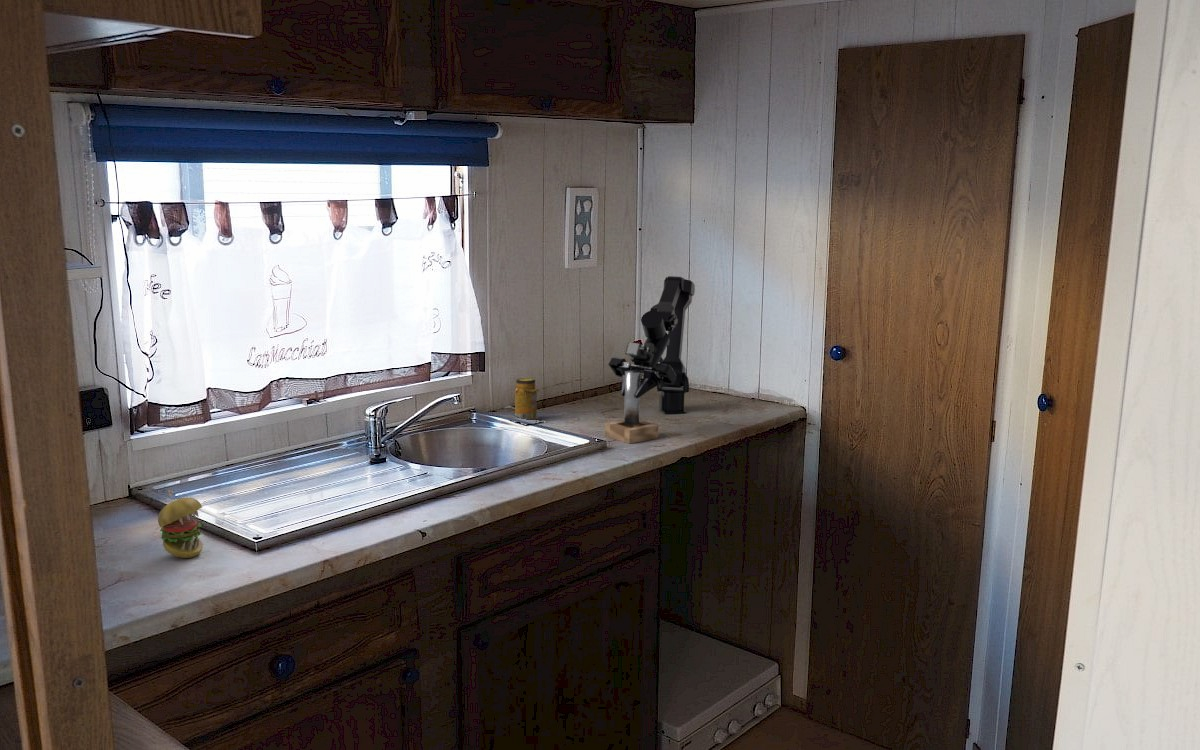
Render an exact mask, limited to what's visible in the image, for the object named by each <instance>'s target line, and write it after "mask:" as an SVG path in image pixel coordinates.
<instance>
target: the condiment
mask: <svg viewBox="0 0 1200 750" xmlns="http://www.w3.org/2000/svg"><path fill="white" fill-rule="evenodd" d="M515 382H516V384H515V386H516V388H515V390H514V418H515V417H517V418H521V419H526V420H536V419H537V406H538V405H537V404H538V403H537V402H538V401H537V400H538V399H537V397H538V395H537V393H538V392H537V388H536V379H535V378H531V377H520V378H519V377H518V378H517V379H516V381H515ZM543 421H544V423H546V421H545V420H543Z"/></svg>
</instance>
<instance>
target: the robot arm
mask: <svg viewBox="0 0 1200 750" xmlns="http://www.w3.org/2000/svg"><path fill="white" fill-rule="evenodd" d="M695 287H696V286H695V283H694V282H693V281H692V280H690V279H686V278H684V277H682V276H676V275H675V276H673V275H668V276H665V278H664V280H663V290H662V293H661V295H660V299H659V301H658V303H656V304H655V305H653V306H652V307H650V310H649V311H647V312H645V313H644V314H642V316H641V318H640V321H641V326H642V329H643V332H644V336H645V338H646V339H645V341H644V343H643V344H642V343H639V342H638V343H637V342H629V341H628V342H627V345H626V349H625V353H624V354H625V355H626V356H629V357H630V361H631V362H633V364H632V363H630V362H627V361H628V360H626V358H623V357H617V356H614V357H611V358H610V360H609V362H608V364H607V365H608V366H609V367H610V369H611V371H612V372H613V374H614V375H615V376H616V377H619V378H622V382H621V383H622V385H621V393H620V394H621V396H622V397H625V371H627V370H637V371H640V375H643V377H642V380H641V381H640V386H639V388H638V390H637V392H636V395H635V397H636V398H639V397H640V398H641V397H642V396H643V395H645V394H646V393H647V392H649V391H651V390H652V389H654V388H655V387H656V390H657V391H656V392H660V395H659V397H658V399H659V401H658V410H659V411H661V412H662V413H663V414H664V415H669V414H670V415H671V414H686V412H687V411H686V410H685V394H686V393H689V392H690V382H689V377H688V373H687V372H686V366H685V363H683V360H682V352H683V342H684V341H683V340H684V331H685V330H684V329H685V320H686V319H685V318H686V310H687V309H688V308H689V307H690V305H691V304H692V300H693V296H695V291H696V288H695ZM665 350H666V353H665V357H664V358H663V357H662V356H663V354H664V352H665Z"/></svg>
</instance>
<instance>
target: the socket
mask: <svg viewBox="0 0 1200 750" xmlns="http://www.w3.org/2000/svg"><path fill="white" fill-rule="evenodd" d="M604 437H607V438H610V439H614V440H617V441H619V442H623V443H627V444H628V445H629V444H630V445H631V444H635V443H640V442H641V443H642V442H645V441H650V440H655V439H658V438H659V425H658V424H656V423H652V422H649V421H645V420H641V419H639V424H638V425H626V424H624V419H622V420H615V421H611V422H605V424H604Z"/></svg>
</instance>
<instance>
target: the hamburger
mask: <svg viewBox="0 0 1200 750" xmlns="http://www.w3.org/2000/svg"><path fill="white" fill-rule="evenodd" d="M167 494H168V495H169V497H170V500H171V501H170V502H169V503H168V504H166V505H165V506H164V507H163V508H161V510H160V511H159V514H158V516H157V523H158V525H159V527H160V529H159V532H161V537H160V539H161V540H162V545H163V548H164V550H165V551H166V552H167V553H169V554H170V555H171V556H174V557H176V558H181V559H190V558H194V557H196V556H198V555H199V554H200V553H201V552H202V551H203V545H204V544H203V542H202V540H200V538H199V536H201V535H202V534H201V531H200V528H201V527H202V524H201V523H198V522H199V521H198V520H196V519H197V518H198V517H200V516H199V512H198V511H199V510H201V508H203V507H202V504H201V502H200V501H198V500H197V499H196V498H193V497H182V498H178V499H176V500H172V495H173V494H174V490H169V489H167ZM185 517H186V518H185ZM190 517H191V518H190ZM193 517H194V518H195V519H194V518H193ZM196 517H197V518H196Z"/></svg>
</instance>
